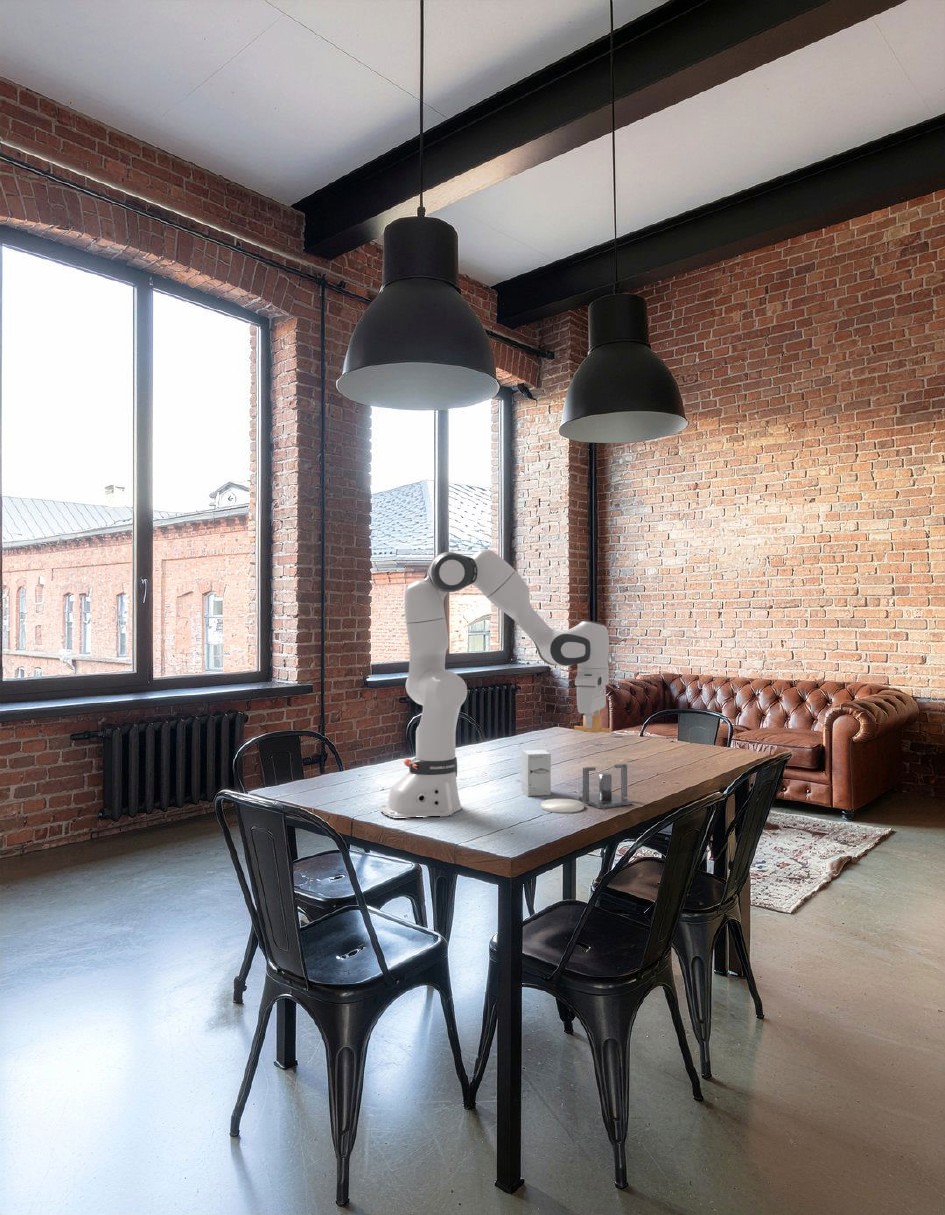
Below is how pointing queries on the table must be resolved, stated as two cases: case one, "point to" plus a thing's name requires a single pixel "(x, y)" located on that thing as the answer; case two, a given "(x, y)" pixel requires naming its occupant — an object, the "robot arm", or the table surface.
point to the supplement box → (536, 772)
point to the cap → (596, 725)
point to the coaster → (562, 805)
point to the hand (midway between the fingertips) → (592, 726)
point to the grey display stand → (605, 789)
